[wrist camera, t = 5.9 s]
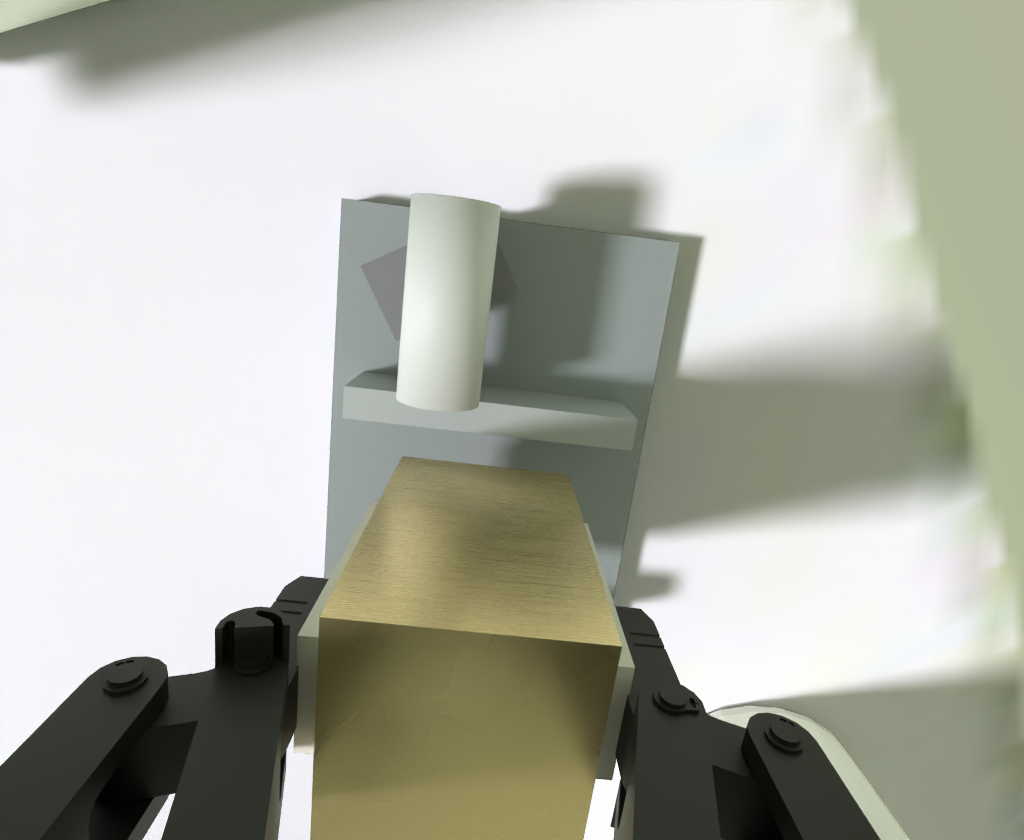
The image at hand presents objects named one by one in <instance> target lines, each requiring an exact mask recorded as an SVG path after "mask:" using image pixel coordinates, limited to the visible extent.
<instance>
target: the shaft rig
mask: <svg viewBox="0 0 1024 840" xmlns="http://www.w3.org/2000/svg"><path fill="white" fill-rule="evenodd" d="M500 212H501V207H500V206H498V205H496V204H492V203H489V202H484V201H480V200H474V199H469V198H463V197H456V196H448V195H439V194H426V193H415V194H411V203H410V207H405V206H397V205H390V204H382V203H374V202H367V201H359V200H351V199H344V198H342V201H341V223H340V245H339V267H338V288H337V310H336V332H335V353H334V375H333V397H332V419H331V440H330V462H329V484H328V505H327V527H326V549H325V571H324V578H325V579H329V578H330V576H331V574H332V572H333V571H334V569H335V567H336V565H337V563H338V562H339V560H340V558H341V556H342V554H343V552H344V551H345V549H346V547H347V545H348V543H349V542H350V540H351V538H352V536H353V534H354V533H355V531H356V529H357V527H358V525H359V524H360V522H361V520H362V518H363V516H364V515H365V513H366V511H367V509H368V507H369V506H370V504H371V502H372V500H374V501H379V500H380V498H381V496H382V494H383V492H384V490H385V488H386V486H387V485H388V483H389V481H390V479H391V477H392V475H393V473H394V471H395V469H396V467H397V465H398V463H399V461H400V459H401V457H402V456H406V457H415V458H424V459H433V460H442V461H451V462H460V463H469V464H478V465H487V466H496V467H505V468H514V469H523V470H532V471H541V472H550V473H559V474H569V476H570V479H571V482H572V485H573V489H574V492H575V495H576V498H577V502H578V505H579V508H580V511H581V515H582V518H583V521H584V523H588V527H589V530H590V533H591V536H592V539H593V542H594V545H595V548H596V551H597V554H598V557H599V560H600V563H601V566H602V569H603V572H604V575H605V578H606V581H607V584H608V587H609V590H610V593H611V596H612V599H613V597H614V592H615V587H616V582H617V576H618V571H619V566H620V560H621V555H622V550H623V544H624V539H625V534H626V528H627V523H628V518H629V512H630V507H631V502H632V496H633V491H634V486H635V480H636V475H637V470H638V464H639V459H640V454H641V448H642V443H643V438H644V432H645V427H646V422H647V416H648V411H649V406H650V401H651V395H652V390H653V385H654V379H655V374H656V369H657V363H658V358H659V353H660V347H661V342H662V337H663V331H664V326H665V321H666V315H667V310H668V305H669V299H670V294H671V289H672V283H673V278H674V273H675V267H676V262H677V257H678V251H679V246H680V243H679V242H671V241H664V240H656V239H649V238H641V237H633V236H626V235H618V234H610V233H603V232H595V231H588V230H580V229H572V228H565V227H557V226H550V225H542V224H534V223H527V222H519V221H511V220H504V219H500Z"/></svg>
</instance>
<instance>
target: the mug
mask: <svg viewBox="0 0 1024 840" xmlns="http://www.w3.org/2000/svg"><path fill="white" fill-rule="evenodd" d="M757 713H773V714H777V715H781V716H784V717H786V718H788V719H790V720H792V721H794V722H796V723H798V724H799V725H800V726H802V727H803V728H805V729H806V730H807V731H808V732H809V733H810V734H811V735H812V736H813V737H814V738H815V740H816V741H817V742H818V743H819V745H820V747H821V748H822V750H823V751H824V753H825V754H826V756H827V757H828V759H829V761H830V762H831V764H832V765H833V767H834V768H835V770H836V771H837V773H838V774H839V776H840V778H841V779H842V781H843V782H844V784H845V785H846V787H847V788H848V790H849V791H850V793H851V795H852V796H853V798H854V799H855V801H856V802H857V804H858V805H859V807H860V808H861V810H862V812H863V813H864V815H865V816H866V818H867V819H868V821H869V822H870V824H871V826H872V827H873V829H874V830H875V832H876V833H877V835H878V836H879V838H880V839H881V840H910V839H909V838H908V836H907V835H906V833H905V832H904V831H903V829H902V828H901V826H900V825H899V824H898V822H897V821H896V819H895V818H894V817H893V815H892V814H891V812H890V811H889V810H888V808H887V807H886V805H885V804H884V803H883V801H882V800H881V798H880V797H879V796H878V794H877V793H876V791H875V790H874V789H873V787H872V786H871V784H870V783H869V782H868V780H867V779H866V777H865V776H864V775H863V773H862V772H861V770H860V769H859V768H858V766H857V765H856V763H855V762H854V761H853V759H852V758H851V756H850V755H849V754H848V752H847V751H846V750H845V749H844V747H843V746H842V745H841V744H840V743H839V741H838V740H837V739H836V738H835V737H834V735H833V734H832V733H831V732H830V731H829V730H827V729H826V728H824V727H823V726H821V725H820V724H818V723H816V722H815V721H813V720H812V719H810V718H809V717H806V716H803V715H800V714H797V713H794V712H790V711H787V710H784V709H781V708H777V707H764V706H749V705H748V706H741V707H734V708H728V709H721V710H717V711H715V712H712V713H709V715H710V716H712V717H715V718H717V719H720V720H722V721H725V722H728V723H731V724H734V725H737V726H741V727H744V728H746V727H747V724H748V721H749V719H750V717H752V716H753V715H755V714H757Z"/></svg>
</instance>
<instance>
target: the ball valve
mask: <svg viewBox="0 0 1024 840" xmlns="http://www.w3.org/2000/svg"><path fill="white" fill-rule="evenodd" d="M105 1H109V0H0V33H1V32H5V31H8V30H11V29H15V28H18V27H21V26H25V25H28V24H31V23H35V22H38V21H41V20H45V19H48V18H51V17H55V16H58V15H62V14H65V13H68V12H72V11H75V10H78V9H82V8H85V7H89V6H92V5H95V4H99V3H102V2H105Z"/></svg>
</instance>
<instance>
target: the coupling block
mask: <svg viewBox="0 0 1024 840" xmlns="http://www.w3.org/2000/svg"><path fill="white" fill-rule="evenodd" d="M621 650H622V644H621V641H620V638H619V635H618V631H617V628H616V625H615V622H614V618H613V615H612V612H611V609H610V605H609V602H608V599H607V596H606V592H605V589H604V586H603V583H602V579H601V576H600V573H599V570H598V566H597V563H596V560H595V557H594V553H593V550H592V547H591V544H590V541H589V537H588V534H587V531H586V528H585V524H584V521H583V518H582V515H581V511H580V508H579V505H578V502H577V498H576V495H575V492H574V489H573V485H572V482H571V479H570V476H569V474H559V473H550V472H541V471H532V470H523V469H514V468H505V467H496V466H487V465H478V464H469V463H460V462H451V461H442V460H433V459H424V458H415V457H406V456H402V457H401V459H400V461H399V463H398V465H397V467H396V469H395V471H394V473H393V475H392V477H391V479H390V481H389V483H388V485H387V486H386V488H385V490H384V492H383V494H382V496H381V498H380V500H379V502H378V504H377V506H376V508H375V510H374V512H373V514H372V516H371V518H370V520H369V521H368V523H367V525H366V527H365V529H364V531H363V533H362V535H361V537H360V539H359V541H358V543H357V545H356V547H355V549H354V551H353V553H352V554H351V556H350V558H349V560H348V562H347V564H346V566H345V568H344V570H343V572H342V574H341V576H340V578H339V580H338V582H337V584H336V586H335V588H334V589H333V591H332V593H331V595H330V597H329V599H328V601H327V603H326V605H325V607H324V609H323V611H322V613H321V615H320V617H319V638H318V663H317V688H316V713H315V738H314V762H313V787H312V812H311V837H310V840H583V838H584V833H585V828H586V823H587V818H588V813H589V808H590V803H591V798H592V793H593V788H594V783H595V778H596V773H597V768H598V764H599V759H600V754H601V749H602V744H603V739H604V734H605V729H606V724H607V719H608V714H609V709H610V704H611V699H612V694H613V689H614V684H615V679H616V674H617V669H618V664H619V660H620V655H621Z"/></svg>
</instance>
